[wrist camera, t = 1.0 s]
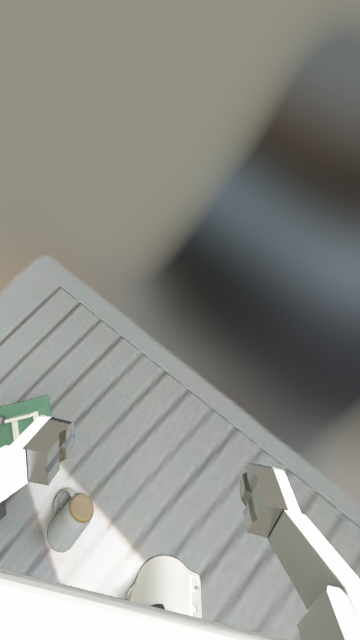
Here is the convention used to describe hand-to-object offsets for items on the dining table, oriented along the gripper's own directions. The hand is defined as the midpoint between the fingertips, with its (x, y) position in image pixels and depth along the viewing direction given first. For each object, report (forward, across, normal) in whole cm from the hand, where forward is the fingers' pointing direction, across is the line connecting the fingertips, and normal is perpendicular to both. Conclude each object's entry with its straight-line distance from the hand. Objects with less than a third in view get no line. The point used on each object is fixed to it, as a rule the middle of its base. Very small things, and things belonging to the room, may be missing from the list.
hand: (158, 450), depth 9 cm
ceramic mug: (+27, -18, -60) cm, 68 cm away
